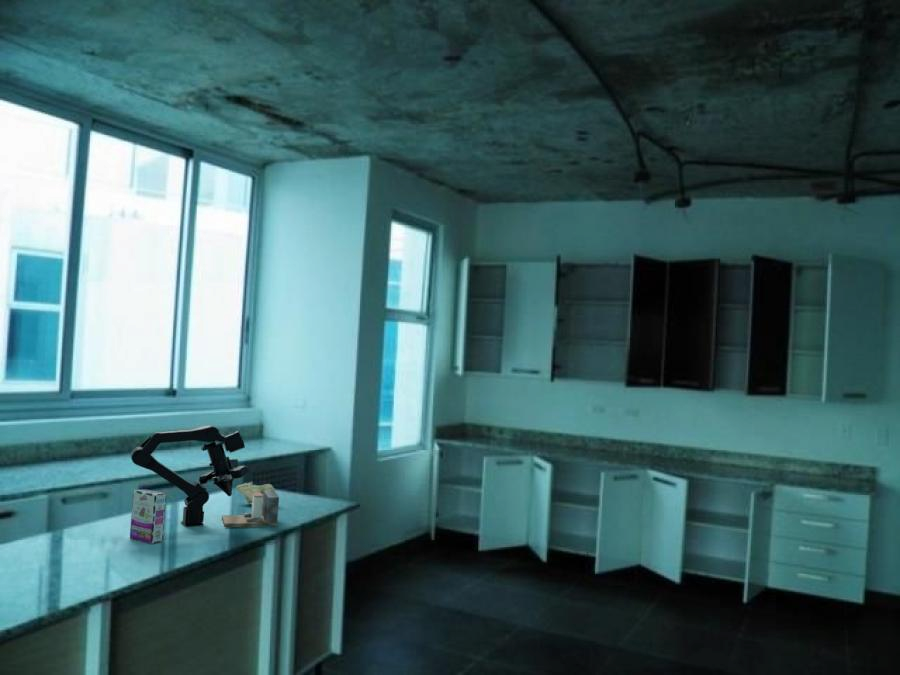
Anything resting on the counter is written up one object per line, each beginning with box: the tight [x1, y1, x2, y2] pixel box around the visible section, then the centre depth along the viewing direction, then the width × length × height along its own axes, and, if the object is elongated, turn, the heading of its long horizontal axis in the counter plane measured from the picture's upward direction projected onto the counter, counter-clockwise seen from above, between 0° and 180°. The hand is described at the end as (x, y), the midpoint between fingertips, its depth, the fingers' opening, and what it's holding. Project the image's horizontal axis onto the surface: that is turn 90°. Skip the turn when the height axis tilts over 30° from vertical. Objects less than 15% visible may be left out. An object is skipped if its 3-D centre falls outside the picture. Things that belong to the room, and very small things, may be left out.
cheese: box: [235, 481, 276, 505], centre depth 307 cm, size 15×7×15 cm
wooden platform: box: [221, 490, 280, 528], centre depth 277 cm, size 19×13×11 cm
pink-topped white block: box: [250, 493, 263, 520], centre depth 278 cm, size 3×6×9 cm, turn 22°
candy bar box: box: [129, 488, 168, 545], centre depth 245 cm, size 11×5×16 cm, turn 62°
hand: (230, 495), depth 276 cm, fingers closed
